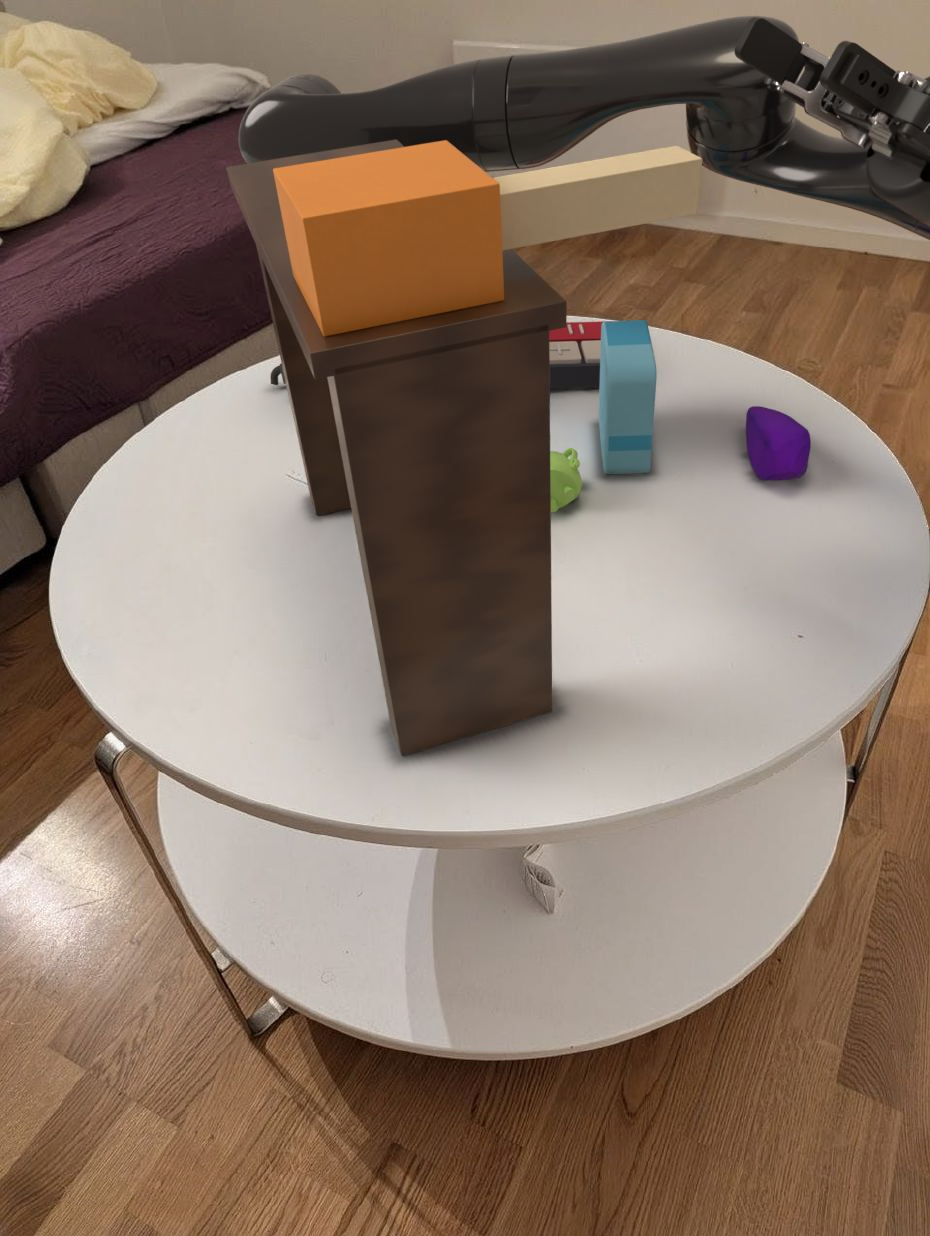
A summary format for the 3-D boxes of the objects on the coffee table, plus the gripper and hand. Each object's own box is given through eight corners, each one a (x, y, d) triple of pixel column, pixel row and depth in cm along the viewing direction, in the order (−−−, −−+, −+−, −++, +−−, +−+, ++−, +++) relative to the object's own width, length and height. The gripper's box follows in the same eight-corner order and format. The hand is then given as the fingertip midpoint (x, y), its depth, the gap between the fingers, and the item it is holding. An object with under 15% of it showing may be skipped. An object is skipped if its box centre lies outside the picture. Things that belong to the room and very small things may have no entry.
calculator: (632, 357, 104) (500, 361, 104) (628, 392, 107) (500, 396, 107) (617, 317, 113) (495, 320, 112) (614, 350, 116) (494, 353, 115)
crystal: (776, 385, 97) (825, 446, 85) (770, 428, 100) (817, 493, 88) (730, 389, 97) (773, 450, 85) (726, 432, 100) (767, 497, 88)
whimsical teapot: (581, 486, 92) (582, 436, 89) (585, 517, 88) (586, 466, 85) (519, 489, 93) (517, 439, 89) (520, 520, 89) (519, 470, 85)
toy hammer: (648, 210, 59) (655, 105, 55) (721, 257, 52) (734, 141, 48) (293, 277, 54) (272, 168, 50) (323, 337, 48) (302, 218, 44)
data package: (649, 479, 93) (657, 369, 85) (604, 480, 93) (608, 370, 85) (639, 419, 101) (646, 314, 94) (598, 420, 102) (601, 316, 94)
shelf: (432, 472, 96) (396, 139, 75) (564, 708, 70) (567, 301, 49) (301, 502, 94) (226, 166, 72) (388, 760, 68) (309, 353, 46)
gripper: (1002, 258, 55) (821, 149, 47) (855, 191, 65) (686, 92, 57) (1096, 129, 51) (916, -14, 43) (925, 80, 62) (755, -43, 54)
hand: (786, 47), depth 50 cm, fingers open, 8 cm apart
